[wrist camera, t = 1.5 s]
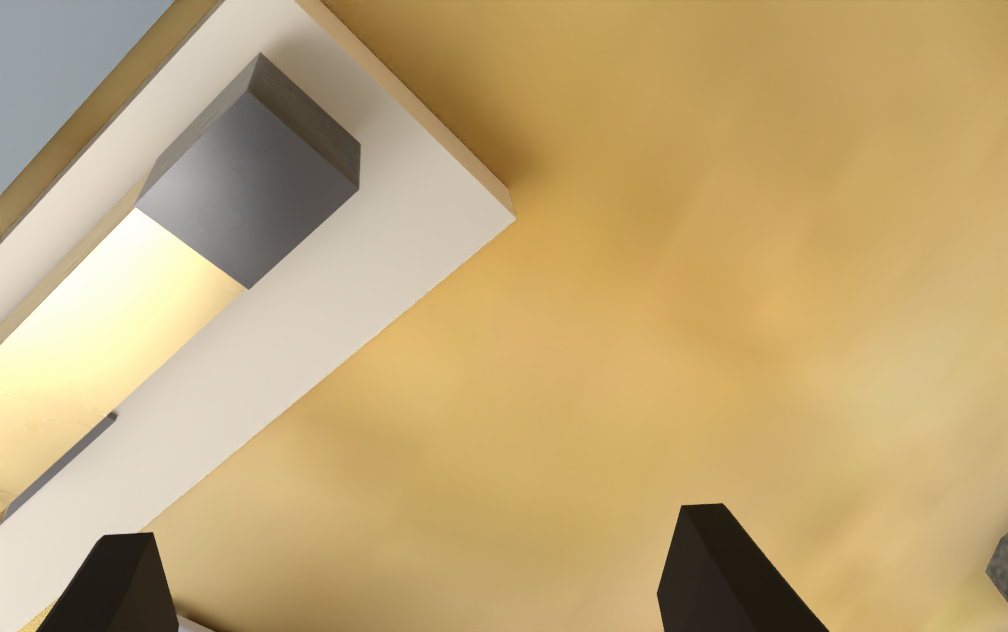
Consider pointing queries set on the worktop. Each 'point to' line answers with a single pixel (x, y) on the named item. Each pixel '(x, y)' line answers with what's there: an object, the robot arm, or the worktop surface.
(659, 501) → the worktop surface
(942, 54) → the worktop surface
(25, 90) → the door panel
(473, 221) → the jamb plate
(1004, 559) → the mortar and pestle
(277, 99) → the swing bar
